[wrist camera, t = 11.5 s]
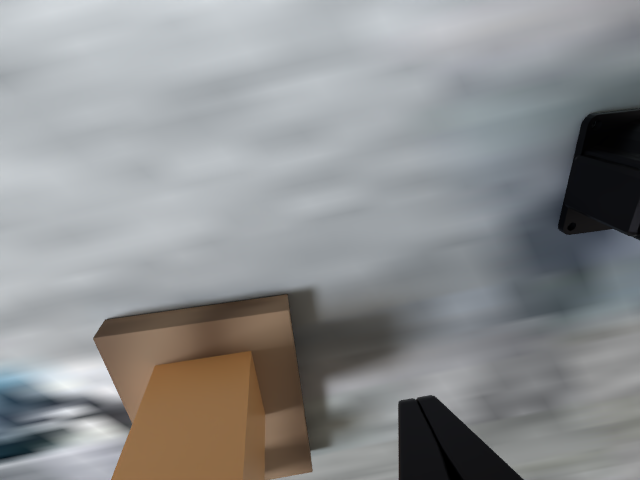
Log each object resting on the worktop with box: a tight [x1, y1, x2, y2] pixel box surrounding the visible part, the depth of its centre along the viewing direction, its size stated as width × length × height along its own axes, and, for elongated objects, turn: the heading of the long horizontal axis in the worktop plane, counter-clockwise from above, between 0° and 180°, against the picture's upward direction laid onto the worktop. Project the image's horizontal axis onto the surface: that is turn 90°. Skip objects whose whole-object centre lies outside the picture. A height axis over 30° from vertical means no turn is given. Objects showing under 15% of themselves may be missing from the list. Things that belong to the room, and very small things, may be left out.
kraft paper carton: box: [111, 351, 265, 480], centre depth 17 cm, size 5×5×8 cm
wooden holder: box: [93, 294, 312, 480], centre depth 20 cm, size 10×14×8 cm
